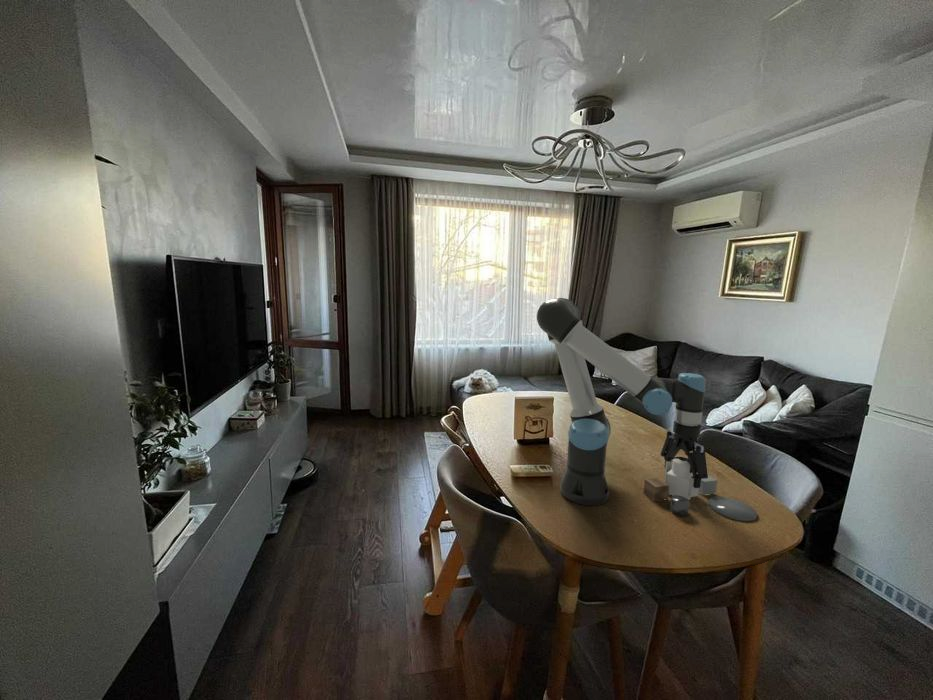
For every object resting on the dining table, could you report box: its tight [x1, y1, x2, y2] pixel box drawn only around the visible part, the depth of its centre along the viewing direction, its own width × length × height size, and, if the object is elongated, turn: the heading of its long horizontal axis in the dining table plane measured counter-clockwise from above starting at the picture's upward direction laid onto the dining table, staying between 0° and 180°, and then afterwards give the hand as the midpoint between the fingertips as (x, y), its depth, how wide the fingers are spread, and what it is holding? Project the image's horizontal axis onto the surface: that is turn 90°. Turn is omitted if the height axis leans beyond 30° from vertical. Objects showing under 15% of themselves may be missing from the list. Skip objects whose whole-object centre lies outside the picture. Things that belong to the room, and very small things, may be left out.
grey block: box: [698, 474, 718, 496], centre depth 127 cm, size 5×5×5 cm
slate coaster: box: [708, 496, 758, 522], centre depth 116 cm, size 12×12×1 cm
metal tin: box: [669, 495, 691, 518], centre depth 114 cm, size 5×5×4 cm
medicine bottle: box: [665, 456, 693, 501], centre depth 124 cm, size 7×7×12 cm
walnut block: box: [643, 477, 669, 502], centre depth 123 cm, size 5×5×5 cm
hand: (680, 487), depth 125 cm, fingers open, 10 cm apart
